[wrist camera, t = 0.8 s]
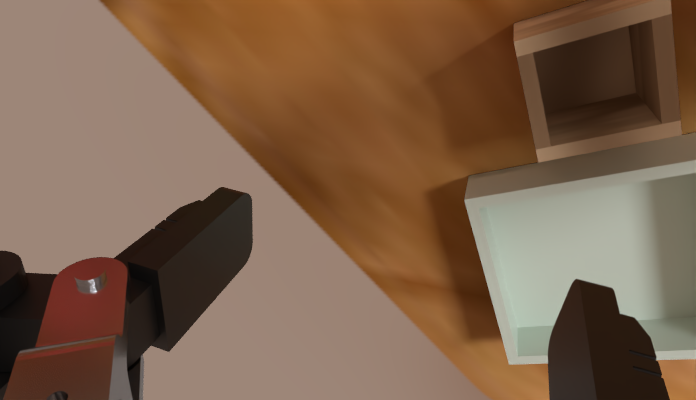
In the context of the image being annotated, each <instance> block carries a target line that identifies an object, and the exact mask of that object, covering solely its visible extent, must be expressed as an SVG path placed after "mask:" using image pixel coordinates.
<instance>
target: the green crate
mask: <svg viewBox="0 0 696 400" xmlns="http://www.w3.org/2000/svg"><path fill="white" fill-rule="evenodd" d="M464 201H465V205H466V209H467V212H468V216H469V220H470V223H471V227H472V230H473V234H474V238H475V241H476V245H477V249H478V252H479V256H480V260H481V263H482V267H483V271H484V274H485V278H486V282H487V285H488V289H489V292H490V296H491V300H492V303H493V307H494V311H495V314H496V318H497V322H498V325H499V329H500V333H501V336H502V340H503V343H504V347H505V351H506V354H507V358H508V362H509V364H542V363H548V346H549V340H550V336H551V332H552V329H553V327H554V324H555V322H556V320H557V317H558V315H559V312H560V310H561V308H562V305H563V303H564V301H565V298H566V296H567V293H568V291H569V289H570V286H571V284H572V283H573V281H574V280H575V279H579V280H583V281H587V282H591V283H595V284H599V285H603V286H607V287H611V288H613V289H614V292H615V295H616V299H617V304H618V308H619V312H620V314H623V315H627V316H631V317H635V319H636V320H637V321H638V322H639V324H640V325H641V326H642V327H643V329H644V330H645V331H646V332H647V334H648V335H649V336H650V337H651V340H652V344H653V347H654V350H655V353H656V357H657V358H656V360H675V359H696V132H695V133H690V134H684V135H680V136H675V137H670V138H664V139H659V140H654V141H649V142H643V143H638V144H633V145H628V146H623V147H617V148H612V149H607V150H602V151H596V152H591V153H586V154H581V155H575V156H570V157H565V158H560V159H555V160H549V161H544V162H539V163H533V164H528V165H522V166H517V167H512V168H507V169H502V170H496V171H491V172H486V173H481V174H475V175H470V176H469V177H468V182H467V188H466V193H465V198H464Z"/></svg>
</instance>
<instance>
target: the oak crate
mask: <svg viewBox="0 0 696 400" xmlns="http://www.w3.org/2000/svg"><path fill="white" fill-rule="evenodd" d="M514 46H515V51H516V56H517V61H518V66H519V71H520V76H521V81H522V85H523V90H524V95H525V100H526V105H527V110H528V115H529V120H530V124H531V129H532V134H533V139H534V144H535V149H536V154H537V159H538V163H539V162H544V161H549V160H555V159H560V158H565V157H570V156H575V155H581V154H586V153H591V152H596V151H602V150H607V149H612V148H617V147H623V146H628V145H633V144H638V143H643V142H649V141H654V140H659V139H664V138H670V137H675V136H680V135H682V129H681V117H680V106H679V94H678V82H677V70H676V58H675V46H674V34H673V23H672V11H671V0H587V1H584V2H581V3H578V4H574V5H571V6H568V7H565V8H562V9H558V10H555V11H552V12H549V13H545V14H542V15H539V16H536V17H532V18H529V19H526V20H523V21H519V22H516V23H514Z"/></svg>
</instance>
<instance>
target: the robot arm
mask: <svg viewBox="0 0 696 400" xmlns="http://www.w3.org/2000/svg"><path fill="white" fill-rule="evenodd" d="M252 240H253V239H252V199H251V196H250V195H249V194H247V193H243V192H240V191H236V190H232V189H228V188H224V187H221V188H219V189H217V190H216V191H215V192H214V193H212V194H211V195H210V196H208V197H207V198H206V199H205V200H203V201H200V200H198V201H195V202H193V203H190V204H188V205H185V206H183V207H180V208H179V209H177V210H176V211H175V212H173V213H172V214H171V215H170V216H168V217H167V218H166V221H165V220H163V221H162V222H161V223H159V224H158V225H157V226H156V227H155V229H151V230H150V231H149V232H147V233H146V234H145V235H144V236H142V237H141V238H140V239H138V240H137V241H136V242H134V243H133V244H132V245H130V246H129V247H128V248H127V249H125V250H124V251H123V252H121V253H120V254H119V255H118V256H116V257H115V258H114V259H113V258H106V257H97V258H90V259H85V260H82V261H79V262H76V263H74V264H72V265H70V266H68V267H66V268H65V269H63V270H62V271H61V272H60V273H59V274H58V275H57V274H38V273H25V270H24V267H23V264H22V261H21V258H20V257H19V256H18V255H16V254H15V253H12V252H8V251H0V400H143V378H144V359H143V353H144V352H145V351H146V350H147V349H148V348H149V347H150V346H154V347H157V348H160V349H163V350H165V351H170V350H171V349H172V348H173V347H174V346H175V344H176V343H177V342H178V341H179V340H180V339H181V338H182V336H183V335H184V334H185V333H186V332H187V331H188V330H189V328H190V327H191V326H192V325H193V324H194V323H195V322H196V320H197V319H198V318H199V317H200V316H201V314H202V313H203V312H204V311H205V310H206V309H207V308H208V306H209V305H210V304H211V303H212V302H213V301H214V300H215V299H216V297H217V296H218V295H219V294H220V293H221V292H222V291H223V289H224V288H225V287H226V286H227V285H228V284H229V283H230V281H231V280H232V279H233V278H234V277H235V276H236V275H237V273H238V272H239V271H240V270H241V269H242V268H243V267H244V265H245V264H246V262H247V261H248V258H249V256H250V253H251V250H252V243H253V241H252ZM656 358H657V357H656V353H655V350H654V347H653V344H652V340H651V337H650V336H649V335H648V334H647V332H646V331H645V330H644V329H643V327H642V326H641V325H640V324H639V322H638V321H637V320H636V319H635V317H631V316H627V315H623V314H620V312H619V308H618V304H617V299H616V295H615V292H614V289H613V288H611V287H607V286H603V285H599V284H595V283H591V282H587V281H583V280H579V279H575V280H574V281H573V283H572V284H571V286H570V289H569V291H568V293H567V296H566V298H565V301H564V303H563V305H562V308H561V310H560V312H559V315H558V317H557V320H556V322H555V324H554V327H553V329H552V332H551V336H550V340H549V346H548V373H549V395H550V400H670V399H669V396H668V392H667V389H666V386H665V383H664V379H663V378H661V375H662V373H661V370H660V366H659V363H658V361H656Z"/></svg>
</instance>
